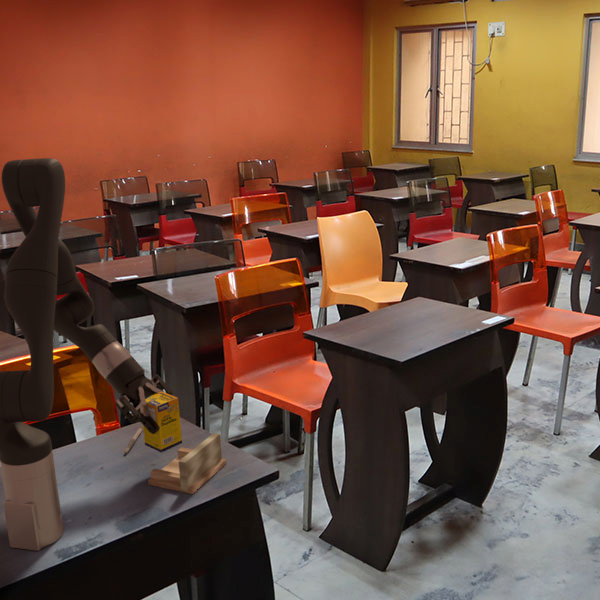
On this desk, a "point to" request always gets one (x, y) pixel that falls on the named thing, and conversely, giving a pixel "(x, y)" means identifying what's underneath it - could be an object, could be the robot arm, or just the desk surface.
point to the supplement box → (163, 422)
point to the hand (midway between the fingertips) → (167, 423)
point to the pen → (133, 439)
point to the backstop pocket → (190, 467)
